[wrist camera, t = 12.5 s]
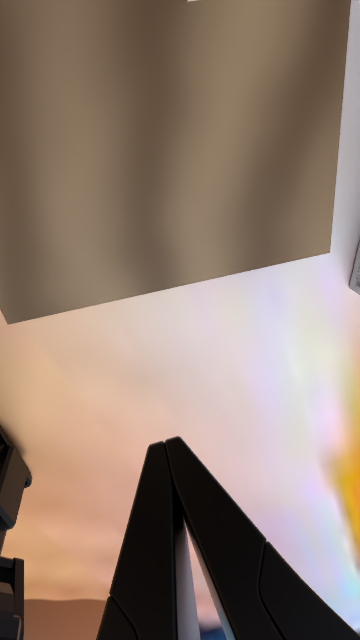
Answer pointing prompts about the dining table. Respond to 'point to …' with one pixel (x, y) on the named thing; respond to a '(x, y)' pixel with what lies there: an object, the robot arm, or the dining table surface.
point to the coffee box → (356, 274)
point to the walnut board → (162, 143)
